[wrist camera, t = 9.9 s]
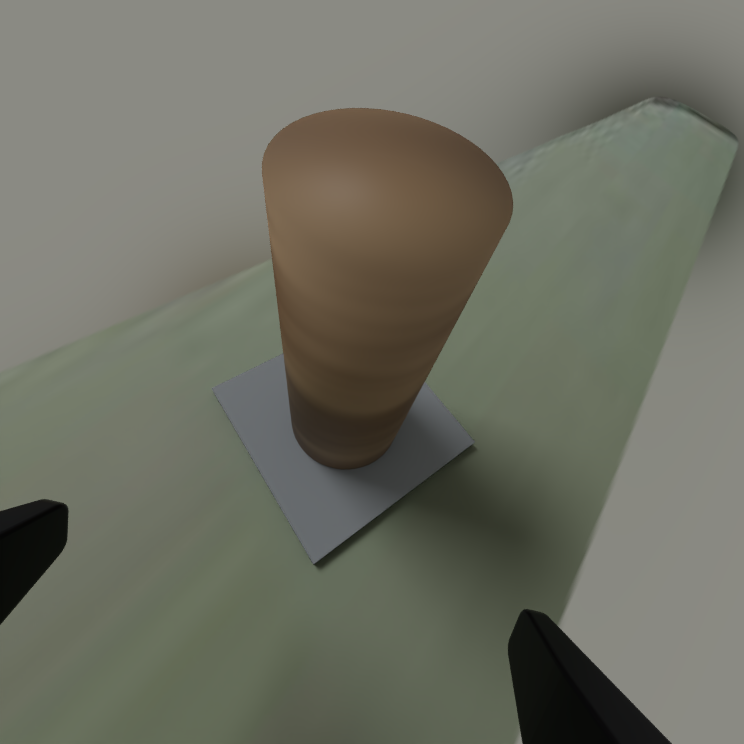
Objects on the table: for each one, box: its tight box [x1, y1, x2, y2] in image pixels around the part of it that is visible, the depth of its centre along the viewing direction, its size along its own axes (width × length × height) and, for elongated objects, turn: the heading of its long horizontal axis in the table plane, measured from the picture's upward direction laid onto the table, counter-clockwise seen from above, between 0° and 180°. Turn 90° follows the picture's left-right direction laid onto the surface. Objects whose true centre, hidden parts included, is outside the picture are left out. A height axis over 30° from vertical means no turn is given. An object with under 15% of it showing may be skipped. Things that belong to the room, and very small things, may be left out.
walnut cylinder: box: [262, 108, 513, 469], centre depth 13 cm, size 5×5×12 cm
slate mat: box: [212, 354, 475, 565], centre depth 18 cm, size 9×9×1 cm
